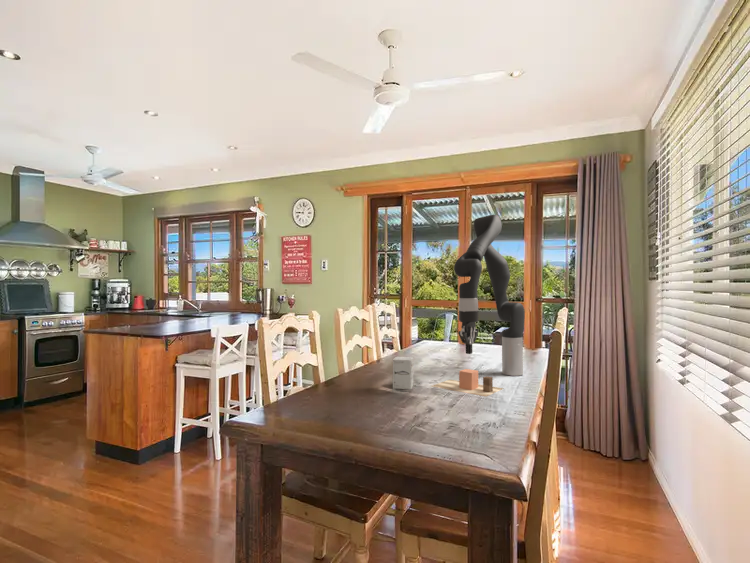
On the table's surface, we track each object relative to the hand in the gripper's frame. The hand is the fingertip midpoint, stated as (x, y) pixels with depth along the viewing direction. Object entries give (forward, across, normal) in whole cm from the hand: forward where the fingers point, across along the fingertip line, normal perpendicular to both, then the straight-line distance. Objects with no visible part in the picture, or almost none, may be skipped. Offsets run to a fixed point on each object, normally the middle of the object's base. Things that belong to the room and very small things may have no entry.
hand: (469, 353), depth 163 cm
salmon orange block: (+13, 0, 0) cm, 13 cm away
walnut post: (+13, 0, +8) cm, 16 cm away
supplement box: (+15, +15, -21) cm, 30 cm away
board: (+15, 0, -1) cm, 15 cm away
